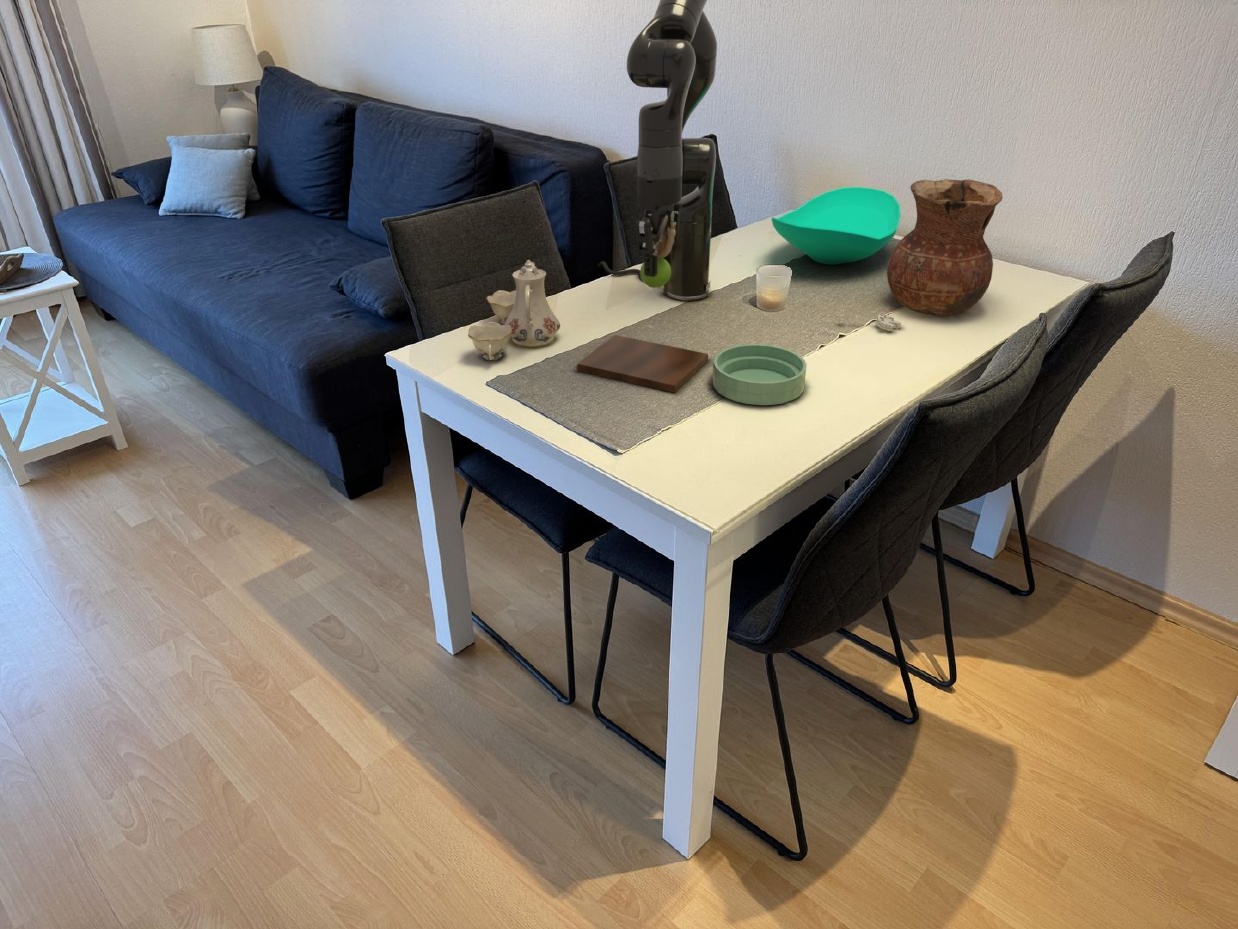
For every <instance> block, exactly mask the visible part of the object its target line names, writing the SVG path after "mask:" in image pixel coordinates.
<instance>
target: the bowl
mask: <svg viewBox="0 0 1238 929" xmlns="http://www.w3.org/2000/svg"><path fill="white" fill-rule="evenodd" d="M807 365H808V364H807V362H806V360H805V359H804V357H802V356H801V355H800V354H799V353H797V352H794V351H793V350H791V349H788V348H784V347H782V346H776V345H772V344H763V343H746V344H737V345H733V346H730V347H727V348H725V349H722V350H720V351H719V352H718V353H717V354H716V355H715V356H714V359H713V363H712V381H711V382H712V386H713V388H714V389H715V391H716V392H717V393H718V394H719V395H721V396H723V397H724V398H726V399H729V400H731V401H734V402H737V403H741V404H747V405H754V406H774V405H781V404H785V403H788V402H791V401H794V400H795V399H797V398H799V397H800V396H801V395H802V394H803V392H804V391H805V383H806V374H807Z"/></svg>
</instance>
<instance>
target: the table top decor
mask: <svg viewBox="0 0 1238 929" xmlns="http://www.w3.org/2000/svg"><path fill="white" fill-rule="evenodd" d="M901 213H902V212H901V204H900V203H899V202H898V200H897V199H896V197H895V196H894V195H892V194H891V193H889V192H887V191H885V190H883V189H882V190H881V189H877V188H872V187H863V186H850V187H849V186H848V187H847V186H846V187H839V188H836V189H833V190H829V191H825V192H823V193H821V194H819V195H817V196H814V197H813V198H811V199H809V200H808V201H806V202H805V203H804V204H802V205H801V206H800V207H798V208H796V209H794V210H792V211H789V212H787V213H785V214H783V215H781V216H780V217H774V216H772V217H771V223H772V226H773V228H774V229H775V231H776V232H777V234H778V235H779V236H780V237H782V238H783V239H784V240H786V241H787V243H789V244H790V245H791V246H793V247H795V249H797V250H798V251H801V252H802V253H803V254H805V255H807V256H808V257H810V258H811V259H812V260H813V261H814V262H816V263H819V264H823V265H830V266H833V265H842V264H848V263H854V262H857V261H860V260H861V261H862V260H864V259H866V258H868V257H871V256H873V255H874V254H876V253H877V252H878V251H880V250H881V249H882V248H884V247H885V246H886V245H887V244H888V243H889V242H890V241H891V240H892V239H893V238H894V237H895V235H896V233H897V230H898V228H899V224H900V220H901V217H902V214H901Z"/></svg>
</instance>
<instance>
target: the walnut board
mask: <svg viewBox="0 0 1238 929" xmlns="http://www.w3.org/2000/svg"><path fill="white" fill-rule="evenodd" d="M708 362H709V353H706V352H701V351H696V350H691V349H687V348H682V347H677V346H671V345H666V344H662V343H657V342H652V341H648V340H644V339H637V338H632V337H628V336H623V335H618V334H614V335H613V336H611V337H610V338H609V339H607V340H606V341H605V342H604V343H602V344H601V345H600V346H599V347H597V348H595V349H594V350H593V351H592V352H590V353H589V354H588V355H587V356H585V357H584V358H582V359H581V360H580V361H579V362H577V363H576V368H577V369H576V370H577V372H581V373H585V374H590V375H594V376H599V377H602V378H608V379H613V380H617V381H620V382H626V383H630V384H634V385H638V386H642V387H647V388H651V389H656V390H660V391H663V392H669V393H673V394H676V393H677V392H678V391H679V390H680V388H682V387H683V386H684V385H685V384H686V383H687V382H688V381H689V380H690V379H691V378H693V376H694V375H695V374H697V372H699V371H700V370H701V368H703V367H704V365H706V364H707V363H708Z"/></svg>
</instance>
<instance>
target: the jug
mask: <svg viewBox="0 0 1238 929" xmlns="http://www.w3.org/2000/svg"><path fill="white" fill-rule="evenodd" d="M910 191H911V194H912V195H913V198H914V201H915V207H916V209H915V210H916V221H915V225H914V228H913V229H912V230H911V231H909V232H908V233H907V234H906V235H905V236H903V238H900V240H899V241H898V243H897V244H896V245H895V246H894V248H893V250H892V252H891V254H890V257H889V260H888V262H887V269H886V277H887V283H888V286H889V289H890V291H891V293H892V295H893V297H894V298H895V299H896V300H897V301H898V302H899V304H900V305H902V306H903V307H904V308H906V309H908V310H910V311H912V312H916V313H918V314H919V313H920V314H923V315H927V316H933V317H952V316H957V315H960V314H963V313H964V312H966V311H968V310H970V309H971V308H972V307H974V306H975V305H976V304H977V303H978V302H979V301H981V299H982V298H983V297H984V295H985V294H986V292H987V290H988V288H989V286H990V285H991V281H992V278H993V277H992V276H993V270H994V260H993V254H992V252H991V250H990V248H989V246H988V244H987V243H986V241H985V239H984V236H985V232H986V228H987V227H988V226H989V223H990V221H991V220H992V218H993V216H994V213H995V210H996V207H997V206H998V205H999V204H1000V203H1001V202H1002V200H1003V197H1004V196H1003V192H1002V191H1001V190H1000V189H998V187H997V186H995V185H994V184H991V183H986V182H983V181H978V180H974V179H969V178H968V179H967V178H966V179H961V180H960V179H947V178H945V179H944V178H943V179H940V180H932V179H921V180H917V181H915V182H913V183H912V184H911V185H910Z"/></svg>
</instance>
